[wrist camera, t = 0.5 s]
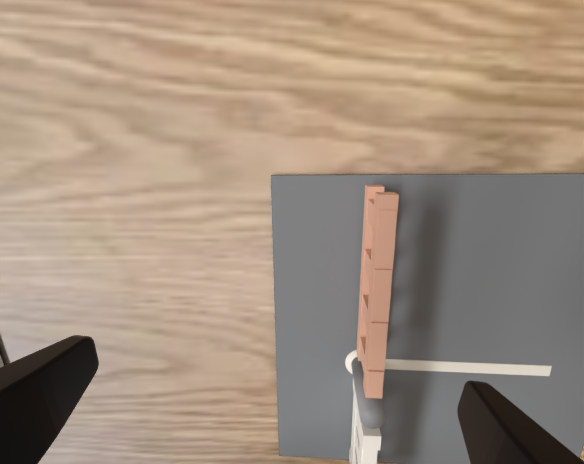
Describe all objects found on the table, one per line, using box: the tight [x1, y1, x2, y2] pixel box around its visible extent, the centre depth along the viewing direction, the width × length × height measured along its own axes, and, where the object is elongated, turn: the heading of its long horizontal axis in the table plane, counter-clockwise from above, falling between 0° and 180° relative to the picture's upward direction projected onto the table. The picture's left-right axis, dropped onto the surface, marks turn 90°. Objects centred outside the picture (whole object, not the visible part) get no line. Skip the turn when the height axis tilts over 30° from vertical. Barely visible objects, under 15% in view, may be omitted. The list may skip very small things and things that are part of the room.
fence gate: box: [351, 185, 399, 429], centre depth 17 cm, size 13×1×4 cm, turn 1°
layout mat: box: [271, 174, 584, 464], centre depth 21 cm, size 22×22×1 cm
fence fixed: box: [349, 379, 381, 464], centre depth 20 cm, size 8×1×5 cm, turn 1°
